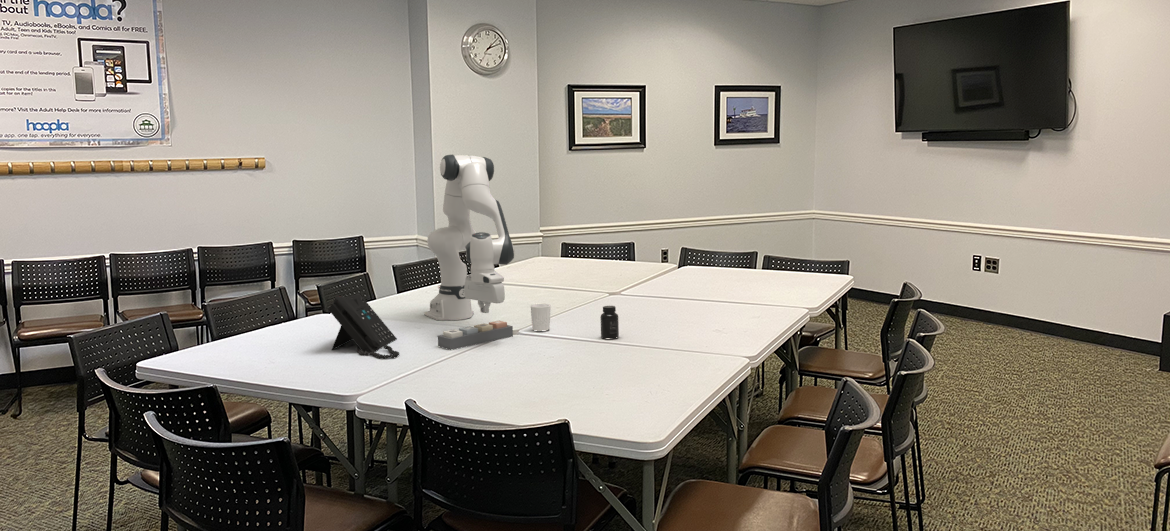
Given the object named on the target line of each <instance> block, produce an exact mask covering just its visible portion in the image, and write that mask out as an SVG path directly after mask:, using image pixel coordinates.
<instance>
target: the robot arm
mask: <svg viewBox="0 0 1170 531" xmlns="http://www.w3.org/2000/svg"><path fill="white" fill-rule="evenodd" d="M439 171H440V176H441V177H442V179H444V180H446V183H445V187H444V188H445V189H444V196H443V204H442V211H443V213H444V215H446V217H447V218H448V219H447V221H448V226H444V227H439V228H437V229H434V230H433V231H431V232H429V234H428V236H427V239H426V240H427V241H426V243H427V247H428V248H429V250H430V251H431V252H432V253H433V254H434V255H435V257H436V259H437V261H438V264H439V269H440V272H439V273H440V285H439V286H438V293H437V295H435V296H434V298H432V300H430V302H429V311H426V312H424V316H426V317H428V318H431V319H433V320H436V321H457V320H458V321H459V320H466V319H469V318H472V317H473V315H474V314H475V312H474V311H473V310H472V301H477V304H478V307H479V308H480V309H479V310H480V313H482V314H489V312H490V306H491V305H492V304H501V303H504V301H505V297H506V295H505V292H506V291H505V285H504V281H505V279H504V278H505V277H504V275H502V274H500V273H498V272H497V271H496V270H495V265H503V266H504V265H505V266H506V265H508V264H510V263H511V262H512V261H513V260H514V259H515V248H514V247H515V246H514V244H513V241H512V239H511V236H510V233H509V230H508V224H507V221H506V218H505V215H504V211H503V209H502V205H501V204H500V202H499V200H497V199H495V198H494V196H493V195H492V192H491V187H490V181H491V180H492V179H493V178H494V172H495V165H494V161H493V160H492V159H491V158H489V157H485V156H478V155H472V154H468V155H466V154H447V155H446V154H445V155H444V156H443V157H442V159H441V162H440V164H439ZM471 211H472V212H474V213H476V214H480V215H483V216H486V217H488V218H490V219H491V220H492V221H493V222H494V225H495V228H496V233H497V237H498V238H494V239H493V237H492V235H491V233H488V232H483V231H481V232H477V231H476V230H475V228H474V227H473V225H472V223H471V222H472V221H471V216H470V212H471ZM462 251H465V257H466V259H465V261H467V262H468V263H469V264H471V266H470V274H468V266H467V264H466V263H465V262H463V261H462V260H461V256H460V254H459V253H460V252H462ZM491 303H492V304H491Z"/></svg>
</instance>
